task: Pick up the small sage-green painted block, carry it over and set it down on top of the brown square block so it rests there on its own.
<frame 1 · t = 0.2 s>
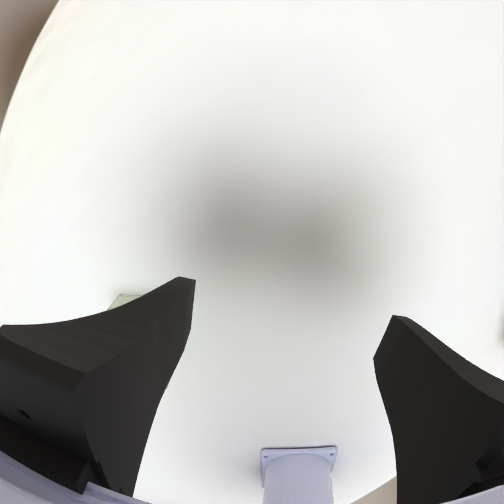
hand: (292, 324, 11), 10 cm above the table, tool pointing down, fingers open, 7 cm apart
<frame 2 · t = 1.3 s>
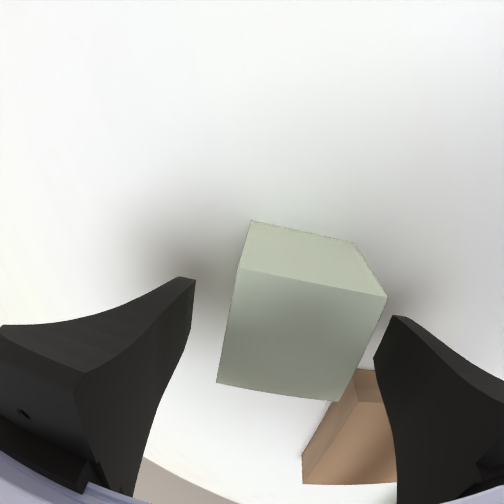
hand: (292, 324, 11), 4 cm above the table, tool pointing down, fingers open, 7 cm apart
sage block: (291, 278, 14), on the table
brown square block: (383, 417, 18), on the table
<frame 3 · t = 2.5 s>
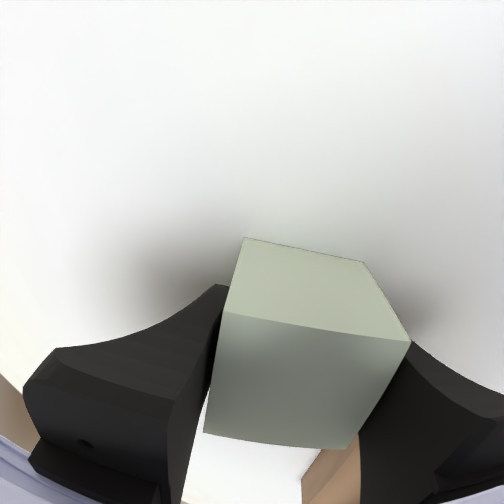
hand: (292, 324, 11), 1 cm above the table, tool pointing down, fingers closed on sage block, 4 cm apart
sage block: (291, 303, 12), on the table, touching gripper
brown square block: (389, 441, 16), on the table
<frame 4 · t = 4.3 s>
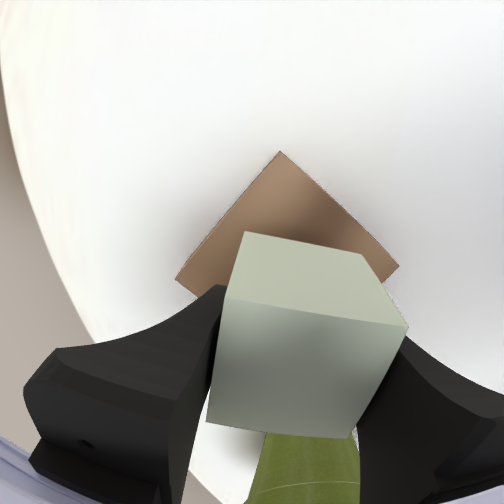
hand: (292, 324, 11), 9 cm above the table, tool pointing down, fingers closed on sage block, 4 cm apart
sage block: (291, 296, 12), point 7 cm above the table, touching gripper
brown square block: (286, 253, 20), on the table
plant pot: (306, 427, 25), on the table
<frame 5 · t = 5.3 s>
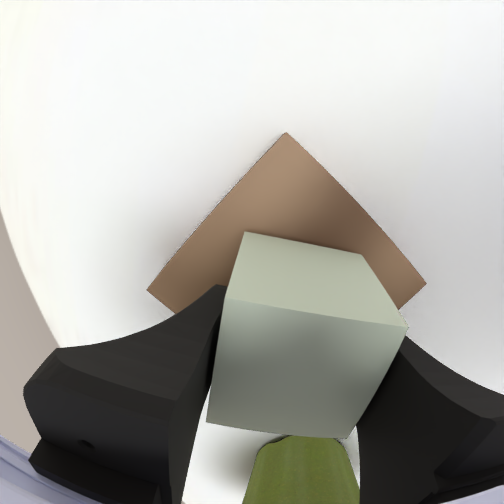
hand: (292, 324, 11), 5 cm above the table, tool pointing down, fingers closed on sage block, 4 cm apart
sage block: (291, 296, 12), point 3 cm above the table, touching gripper
brown square block: (287, 262, 16), on the table
plant pot: (299, 454, 22), on the table
when the fingers open (5 cm above the table, at t = 6.0 s): sage block stays where it is, resting on brown square block.
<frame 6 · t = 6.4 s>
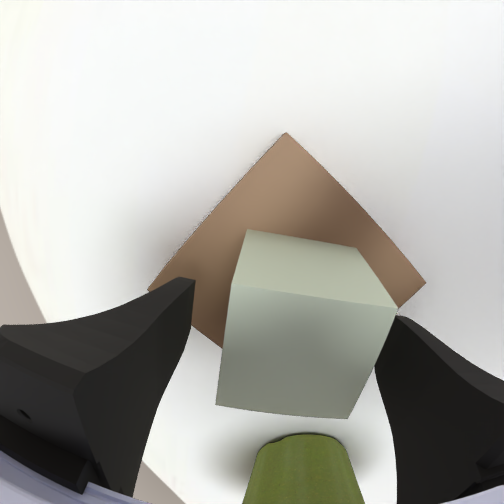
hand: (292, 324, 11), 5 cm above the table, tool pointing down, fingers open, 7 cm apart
sage block: (292, 288, 13), point 3 cm above the table, touching brown square block
brown square block: (287, 261, 16), on the table, touching sage block
plant pot: (299, 454, 22), on the table
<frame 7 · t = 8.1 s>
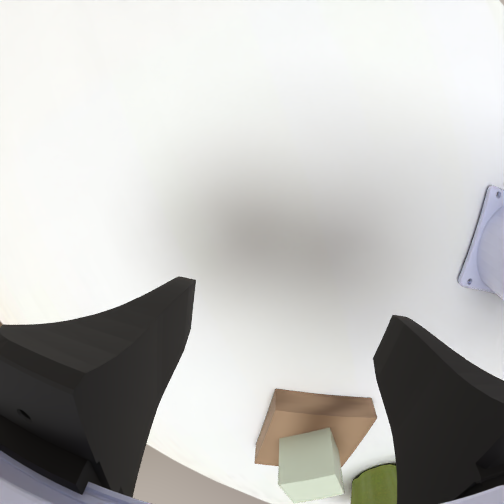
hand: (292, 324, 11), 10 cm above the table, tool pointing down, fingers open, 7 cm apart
sage block: (310, 445, 24), point 3 cm above the table, touching brown square block
brown square block: (310, 421, 27), on the table, touching sage block
plant pot: (377, 475, 31), on the table
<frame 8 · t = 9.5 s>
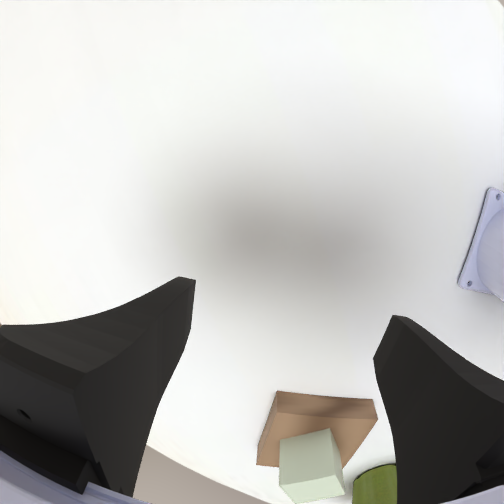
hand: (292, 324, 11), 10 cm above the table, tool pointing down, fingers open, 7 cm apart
sage block: (311, 446, 24), point 3 cm above the table, touching brown square block
brown square block: (311, 422, 27), on the table, touching sage block
plant pot: (379, 475, 31), on the table
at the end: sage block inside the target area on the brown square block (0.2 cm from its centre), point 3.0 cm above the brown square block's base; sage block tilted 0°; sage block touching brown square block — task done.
